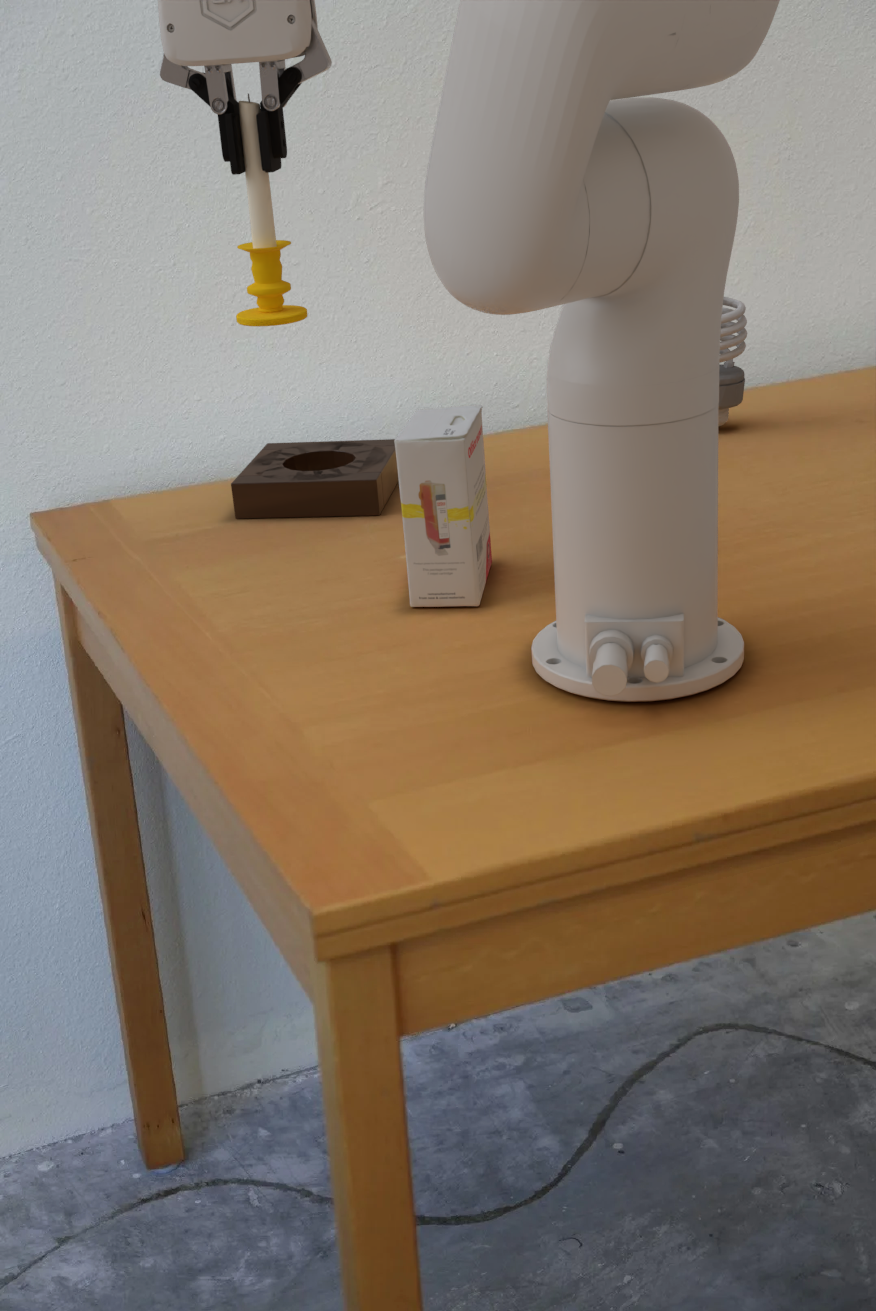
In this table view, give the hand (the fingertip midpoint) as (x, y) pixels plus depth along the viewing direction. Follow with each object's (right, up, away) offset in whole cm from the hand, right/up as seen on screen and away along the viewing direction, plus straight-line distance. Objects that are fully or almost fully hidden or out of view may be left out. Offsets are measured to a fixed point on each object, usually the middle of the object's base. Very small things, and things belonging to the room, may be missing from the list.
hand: (256, 169), depth 104 cm
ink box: (+14, -30, -2) cm, 33 cm away
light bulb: (+38, -14, +31) cm, 51 cm away
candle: (+1, -10, +4) cm, 11 cm away
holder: (+3, -21, +20) cm, 29 cm away
